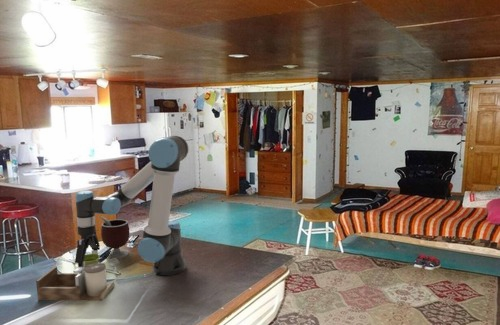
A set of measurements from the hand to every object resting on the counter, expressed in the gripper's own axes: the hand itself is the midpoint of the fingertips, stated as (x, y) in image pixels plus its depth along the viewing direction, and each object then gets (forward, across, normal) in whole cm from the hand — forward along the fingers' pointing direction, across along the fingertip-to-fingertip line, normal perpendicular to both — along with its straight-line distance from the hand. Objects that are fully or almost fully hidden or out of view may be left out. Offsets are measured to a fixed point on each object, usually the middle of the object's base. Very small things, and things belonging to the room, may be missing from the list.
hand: (88, 269), depth 183 cm
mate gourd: (+3, -26, +2) cm, 26 cm away
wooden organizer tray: (+3, +18, +3) cm, 19 cm away
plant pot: (+3, 0, 0) cm, 3 cm away
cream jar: (+2, +18, +11) cm, 21 cm away
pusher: (+1, +18, +5) cm, 19 cm away
